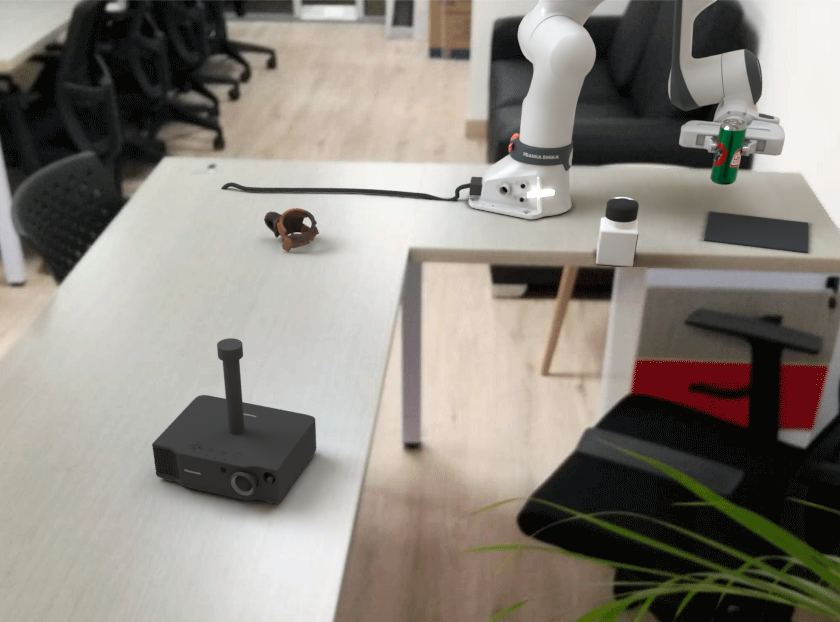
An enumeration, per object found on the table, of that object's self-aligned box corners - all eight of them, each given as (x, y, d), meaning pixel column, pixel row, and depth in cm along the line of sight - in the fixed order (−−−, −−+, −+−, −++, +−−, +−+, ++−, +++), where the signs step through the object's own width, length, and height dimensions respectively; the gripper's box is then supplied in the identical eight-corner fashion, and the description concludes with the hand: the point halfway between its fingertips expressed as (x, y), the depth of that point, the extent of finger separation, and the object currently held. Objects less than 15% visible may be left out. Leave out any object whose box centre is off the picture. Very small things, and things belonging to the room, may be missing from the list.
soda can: (731, 187, 216) (743, 127, 209) (706, 183, 218) (717, 123, 211) (738, 179, 220) (750, 120, 212) (713, 175, 222) (725, 116, 215)
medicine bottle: (633, 267, 210) (642, 208, 203) (596, 264, 212) (604, 205, 204) (632, 253, 216) (641, 194, 209) (596, 250, 217) (604, 192, 210)
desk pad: (703, 240, 221) (704, 239, 221) (710, 212, 233) (710, 211, 233) (807, 253, 215) (807, 251, 215) (808, 223, 227) (808, 222, 227)
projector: (149, 488, 152) (131, 363, 140) (202, 428, 165) (190, 309, 153) (273, 516, 147) (265, 389, 135) (318, 452, 159) (315, 330, 147)
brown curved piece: (324, 237, 225) (326, 212, 218) (306, 271, 221) (308, 247, 214) (271, 217, 226) (271, 191, 219) (253, 251, 222) (253, 226, 215)
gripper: (684, 109, 226) (678, 129, 215) (787, 118, 220) (786, 139, 210) (679, 139, 230) (672, 160, 219) (780, 149, 224) (778, 171, 213)
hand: (729, 150), depth 214 cm, fingers closed on soda can, 5 cm apart
